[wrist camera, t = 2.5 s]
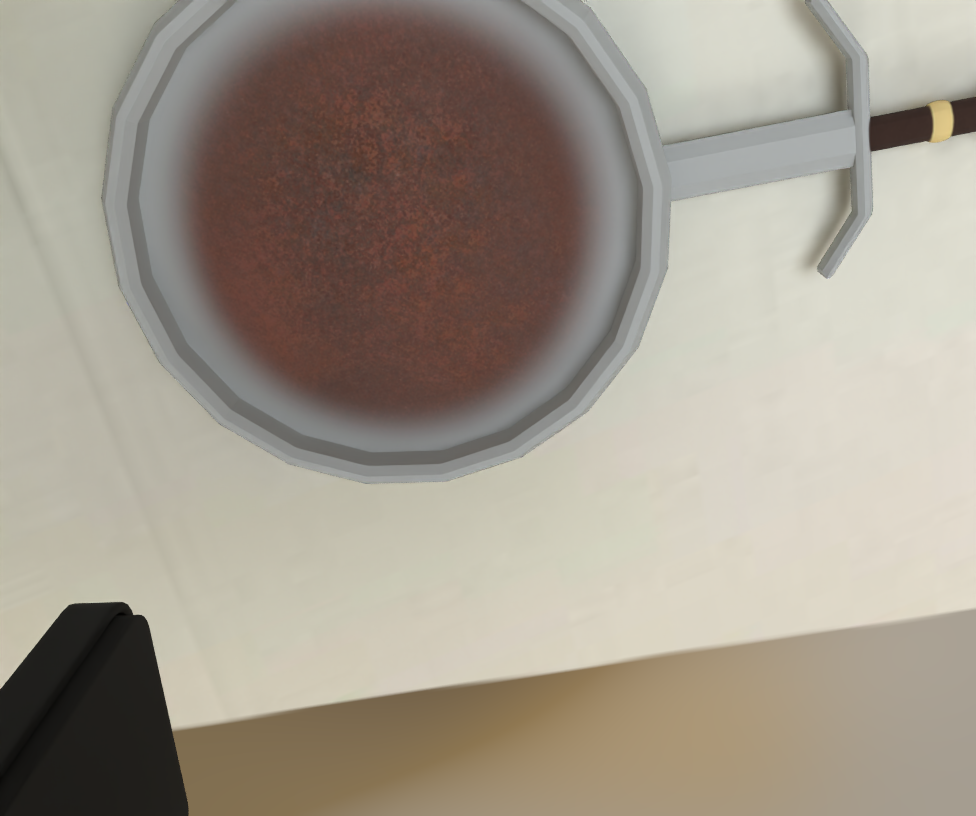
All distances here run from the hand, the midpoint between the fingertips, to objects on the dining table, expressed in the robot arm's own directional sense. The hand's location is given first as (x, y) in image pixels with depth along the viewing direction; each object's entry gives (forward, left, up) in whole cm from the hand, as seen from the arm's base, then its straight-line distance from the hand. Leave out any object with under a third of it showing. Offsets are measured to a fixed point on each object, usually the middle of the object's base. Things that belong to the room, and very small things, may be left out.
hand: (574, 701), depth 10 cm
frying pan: (-2, 0, -22) cm, 22 cm away
